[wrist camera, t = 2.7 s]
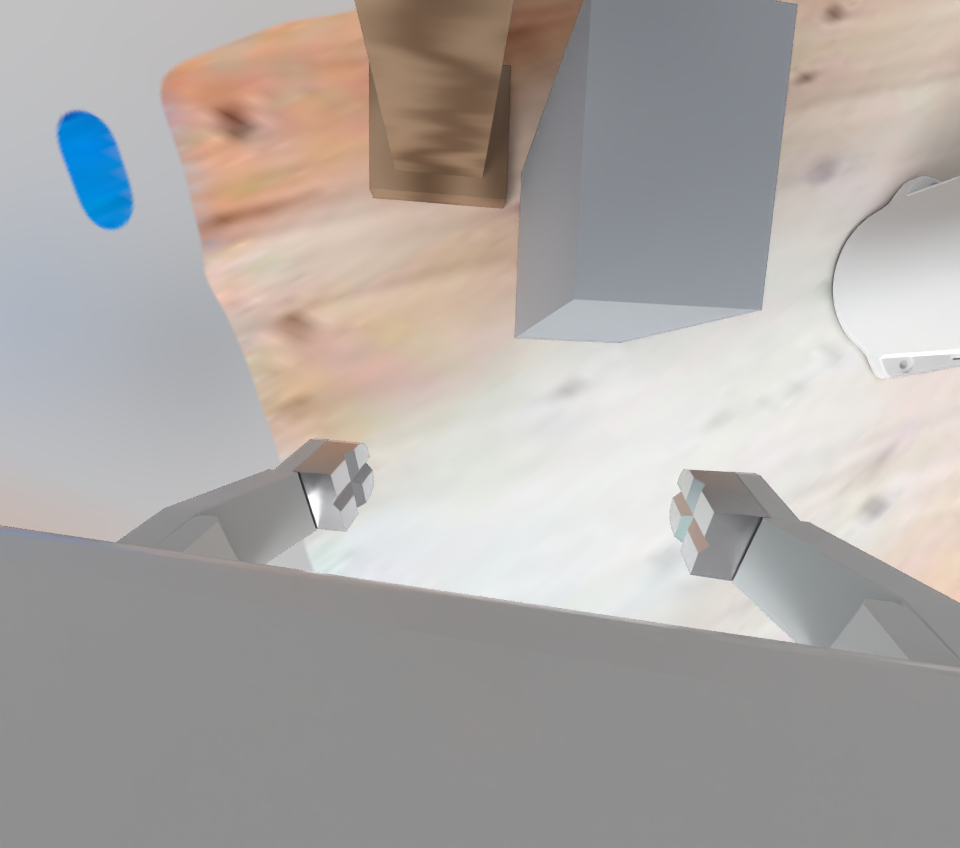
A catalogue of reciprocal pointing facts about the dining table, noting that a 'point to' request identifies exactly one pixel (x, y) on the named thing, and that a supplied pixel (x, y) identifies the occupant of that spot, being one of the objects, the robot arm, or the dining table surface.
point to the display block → (654, 170)
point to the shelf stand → (438, 99)
